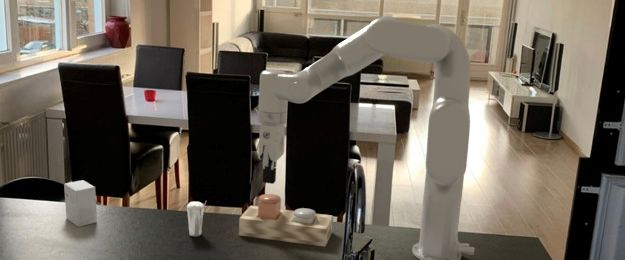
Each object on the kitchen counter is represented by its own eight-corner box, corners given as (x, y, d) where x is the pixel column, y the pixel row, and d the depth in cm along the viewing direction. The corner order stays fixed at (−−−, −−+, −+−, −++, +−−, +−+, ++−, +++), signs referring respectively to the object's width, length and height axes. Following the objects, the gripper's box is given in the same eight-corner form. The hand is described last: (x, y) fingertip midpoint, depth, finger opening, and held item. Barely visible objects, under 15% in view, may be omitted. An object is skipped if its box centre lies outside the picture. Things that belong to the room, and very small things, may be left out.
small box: (97, 222, 171) (95, 187, 169) (77, 227, 167) (75, 190, 165) (85, 214, 177) (83, 179, 174) (65, 218, 173) (63, 183, 171)
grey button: (316, 229, 171) (317, 209, 170) (312, 237, 165) (313, 217, 164) (296, 226, 172) (297, 207, 171) (291, 234, 166) (292, 214, 165)
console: (331, 232, 172) (332, 215, 171) (325, 246, 163) (326, 229, 162) (250, 221, 177) (250, 205, 176) (239, 235, 167) (239, 218, 166)
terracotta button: (282, 214, 172) (282, 195, 171) (276, 222, 167) (277, 202, 165) (262, 212, 173) (262, 193, 172) (256, 219, 168) (256, 199, 166)
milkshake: (203, 238, 164) (203, 203, 162) (184, 236, 165) (184, 201, 163) (209, 232, 168) (209, 198, 166) (190, 230, 169) (190, 195, 167)
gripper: (278, 124, 155) (275, 192, 160) (292, 112, 170) (289, 175, 174) (250, 121, 157) (247, 189, 161) (266, 109, 171) (263, 172, 175)
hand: (269, 182), depth 168 cm, fingers closed
